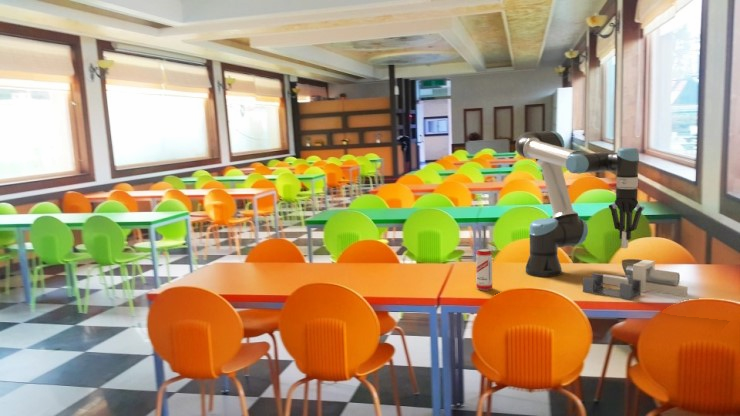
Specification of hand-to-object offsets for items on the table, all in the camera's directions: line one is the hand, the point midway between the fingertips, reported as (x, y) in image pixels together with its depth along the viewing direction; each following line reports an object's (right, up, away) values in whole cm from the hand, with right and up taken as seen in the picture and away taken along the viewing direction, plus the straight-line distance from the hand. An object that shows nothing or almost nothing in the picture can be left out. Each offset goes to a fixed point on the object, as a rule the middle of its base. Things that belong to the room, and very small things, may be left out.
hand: (624, 247), depth 220 cm
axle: (+8, -10, -6) cm, 14 cm away
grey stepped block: (+6, -16, -3) cm, 17 cm away
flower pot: (+9, -14, +12) cm, 21 cm away
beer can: (-54, -17, +5) cm, 57 cm away
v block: (-9, -17, -7) cm, 20 cm away
